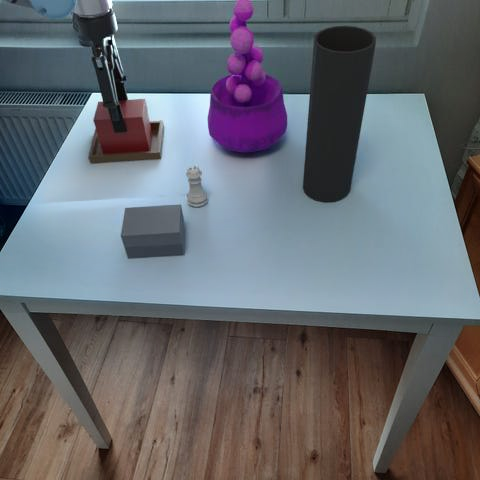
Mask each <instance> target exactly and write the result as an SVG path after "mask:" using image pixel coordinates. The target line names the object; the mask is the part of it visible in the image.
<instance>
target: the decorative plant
mask: <svg viewBox="0 0 480 480" xmlns="http://www.w3.org/2000/svg"><path fill="white" fill-rule="evenodd" d="M233 15H234V16H232V17H231V19H230V21H229V31H230V33H231V34H230V39H229V40H230V43H229V44H230V46H231V49H232V50H233V51H234V52H233V54H231V55H230V56H229V57H228V59H227V61H226V69H227V71H228V73H229V74H228V75H226V76H224V77H222V78H220V79H218V80H217V81H216V82H215V83H213V85H212V87H211V89H210V93H209V95H210V96H209V108H208V113H207V129H208V134H209V136H210V137H211V139H213V140H214V142H216V143H217V144H218V145H219V146H220V147H222V148H224V149H227V150H228V151H233V152H238V153H255V152H260V151H263V150H266V149H268V148H270V147H272V146H275V144H276V143H277V142H278V141H280V139H281V138H282V137H283V136H284V135H285V134H286V132H287V128H288V113H287V109H286V105H285V98H284V93H283V87H282V85H281V83H280V82H279V81H278V80H277V78H274V77H273V76H271V75H270V74H266V72H265V70H264V69H263V65H262V64H261V63H262V62H263V61H264V51H263V49H262V48H261V47H260V46H258V45H255V37H254V33H253V32H252V30H251V29H249V28H248V25H247V21H249V20H250V19H251V18H252V17H253V15H254V7H253V3H252V2H251V0H236V2H235V4H234V7H233Z"/></svg>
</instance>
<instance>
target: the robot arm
mask: <svg viewBox="0 0 480 480" xmlns="http://www.w3.org/2000/svg"><path fill="white" fill-rule="evenodd" d="M0 2H3V3H4V2H5V3H9V4H13V5H16V6H21V7H25V8H29V9H33V10H34V11H35V12H36V13H38V14H40V15H41V16H44V17H45V18H48V19H51V20H56V21H57V20H63V19H65V18H67V17H69V16H70V15H71V14H72V13H74V14H75V17H74V18H75V21H76V25H77V28H78V32H79V34H80V36H81V37H82V38H84V39H86V40H89V41H91V42H92V45H91V52H92V55H93V56H91V62H92V65H93V68H94V71H95V75H96V79H97V83H98V87H99V91H100V96H101V100H102V102H103V104H102V105H103V107H105V108H108V111H109V114H110V118H111V121H112V125H113V128H114V132H115V133H120V132H127V128H126V125H125V121H124V117H123V113H122V109H121V105H120V102H119V103H118V100H129V97H128V93H127V89H126V85H125V82H127V81H128V77H127V76H126V75H124V74H125V71H124V69H123V65H122V61H121V58H120V54H119V51H118V48H117V43H116V40H115V34H116V33H117V32H118V27H119V26H118V22H117V18H116V15H115V10H114V9H113V8H112V6H113V3H112V0H0Z"/></svg>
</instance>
